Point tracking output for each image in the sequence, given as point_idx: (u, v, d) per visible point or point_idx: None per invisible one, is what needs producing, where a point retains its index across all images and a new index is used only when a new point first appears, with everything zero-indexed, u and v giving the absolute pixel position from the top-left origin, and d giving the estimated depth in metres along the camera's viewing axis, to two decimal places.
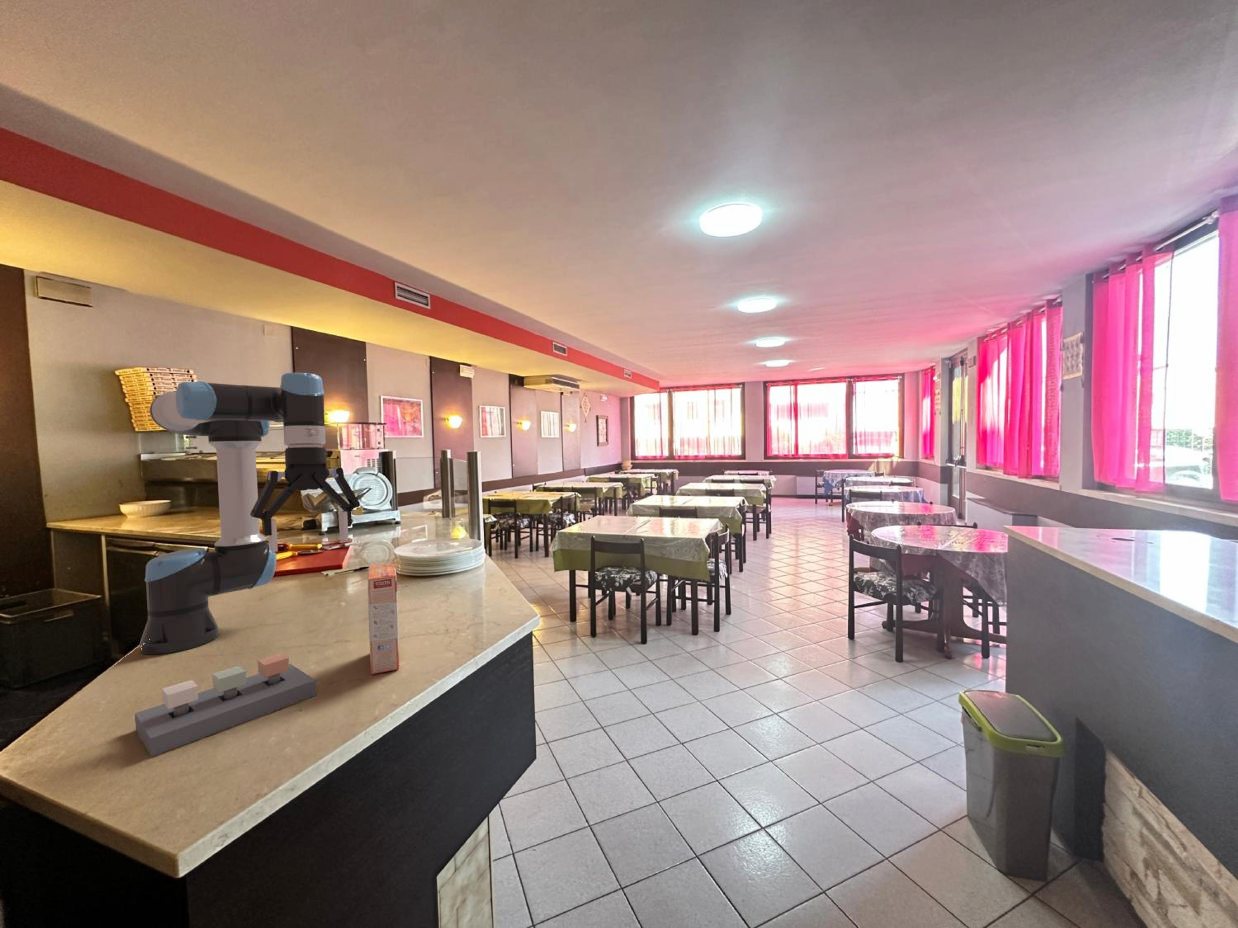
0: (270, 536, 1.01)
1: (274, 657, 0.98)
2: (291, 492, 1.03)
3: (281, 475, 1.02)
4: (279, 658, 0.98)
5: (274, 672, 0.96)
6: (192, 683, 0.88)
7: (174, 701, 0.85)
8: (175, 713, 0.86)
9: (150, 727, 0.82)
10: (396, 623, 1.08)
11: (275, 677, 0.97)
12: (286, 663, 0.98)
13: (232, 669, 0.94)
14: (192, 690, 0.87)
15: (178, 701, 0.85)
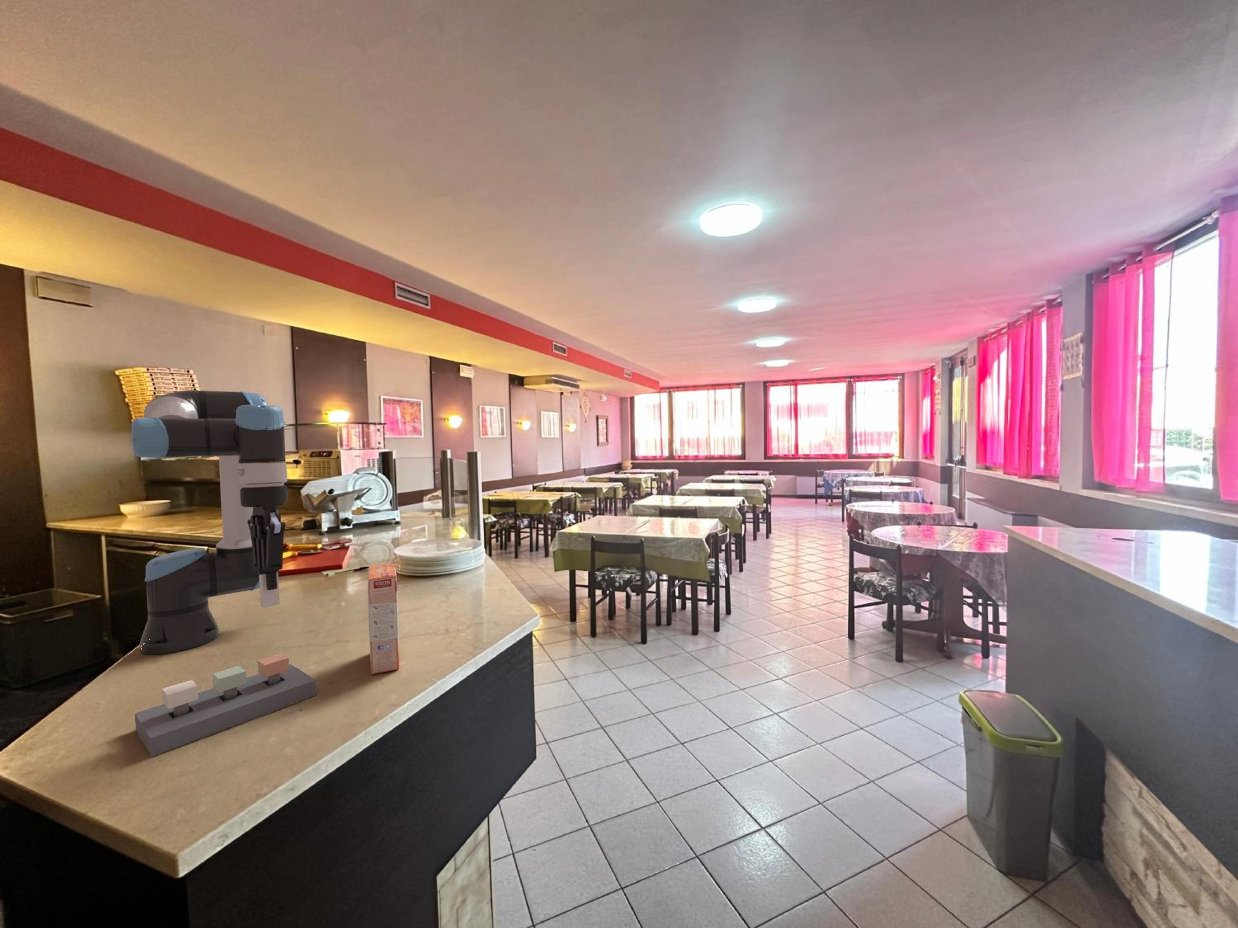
0: None
1: (274, 657, 0.98)
2: (256, 537, 0.97)
3: None
4: (279, 658, 0.98)
5: (274, 672, 0.96)
6: (192, 683, 0.88)
7: (174, 701, 0.85)
8: (175, 713, 0.86)
9: (150, 727, 0.82)
10: (396, 623, 1.08)
11: (275, 677, 0.97)
12: (286, 663, 0.98)
13: (232, 669, 0.94)
14: (192, 690, 0.87)
15: (178, 701, 0.85)
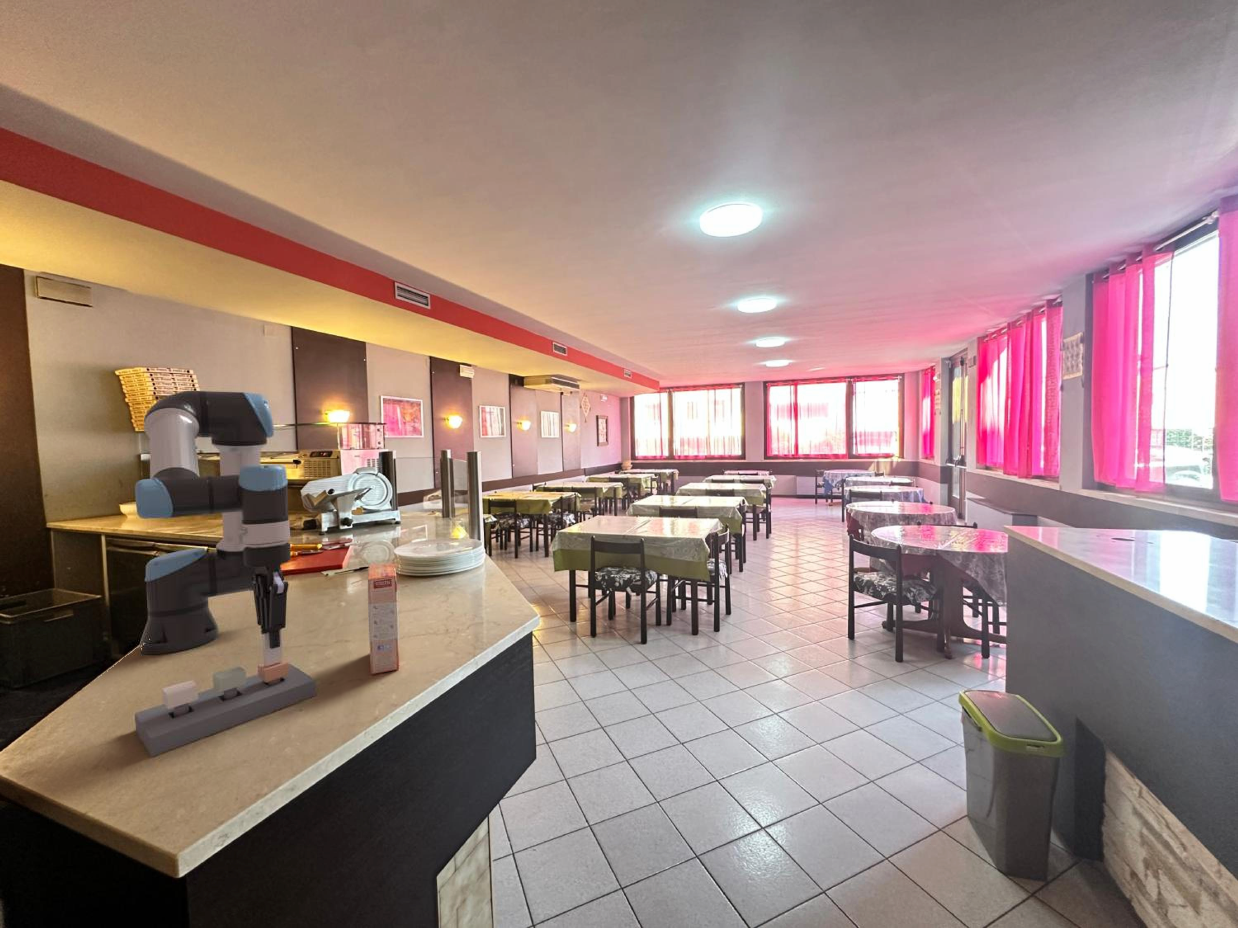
0: None
1: None
2: (259, 596, 0.97)
3: None
4: (280, 663, 0.98)
5: (274, 677, 0.96)
6: (192, 683, 0.88)
7: (174, 701, 0.85)
8: (175, 713, 0.86)
9: (150, 727, 0.82)
10: (396, 623, 1.08)
11: (275, 682, 0.97)
12: (286, 668, 0.98)
13: (232, 669, 0.94)
14: (192, 690, 0.87)
15: (178, 701, 0.85)
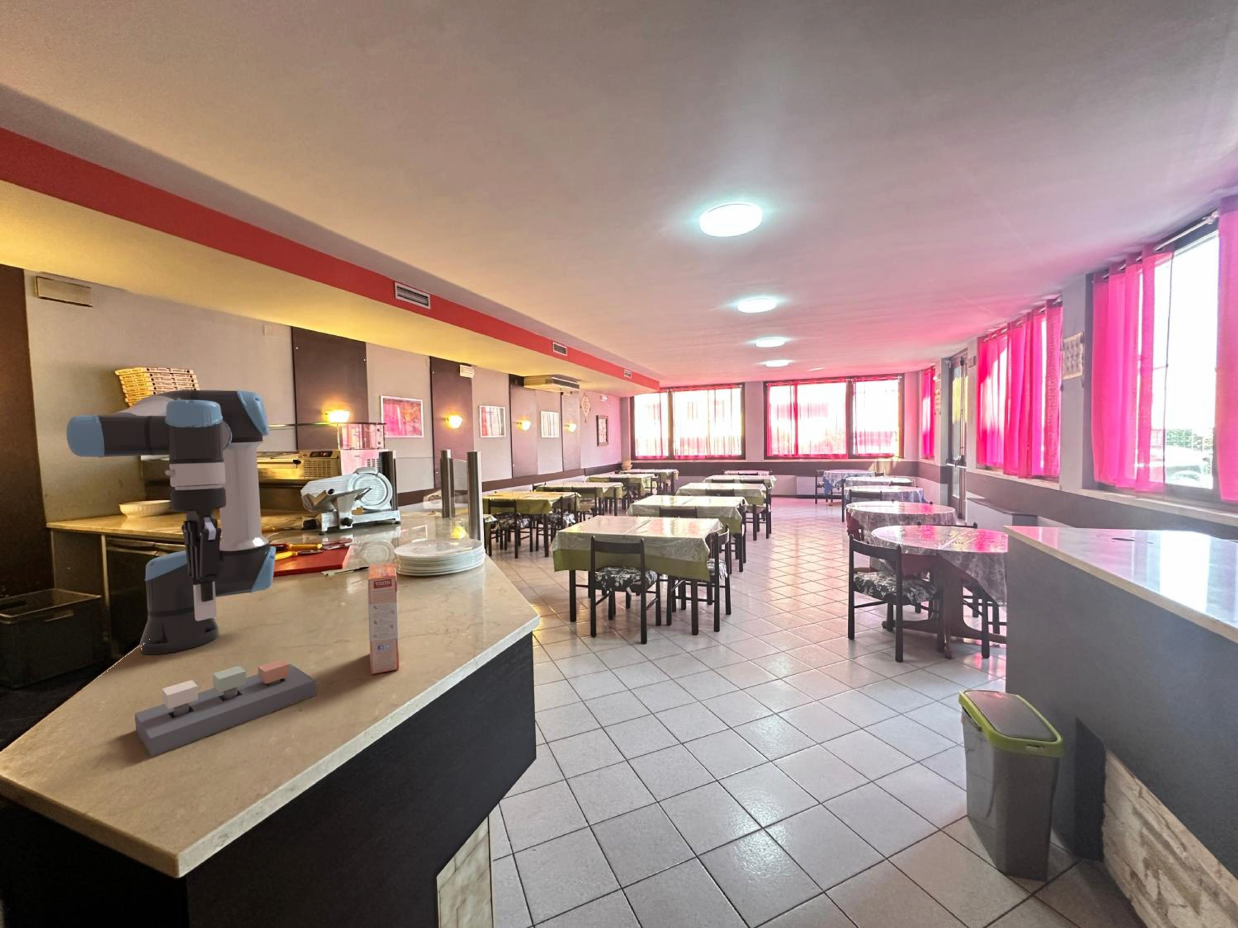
0: None
1: (274, 663, 0.98)
2: (190, 544, 0.89)
3: None
4: (280, 664, 0.98)
5: (275, 678, 0.96)
6: (192, 683, 0.88)
7: (174, 701, 0.85)
8: (175, 713, 0.86)
9: (150, 727, 0.82)
10: (396, 623, 1.08)
11: (275, 683, 0.97)
12: (286, 669, 0.98)
13: (232, 669, 0.94)
14: (192, 690, 0.87)
15: (178, 701, 0.85)
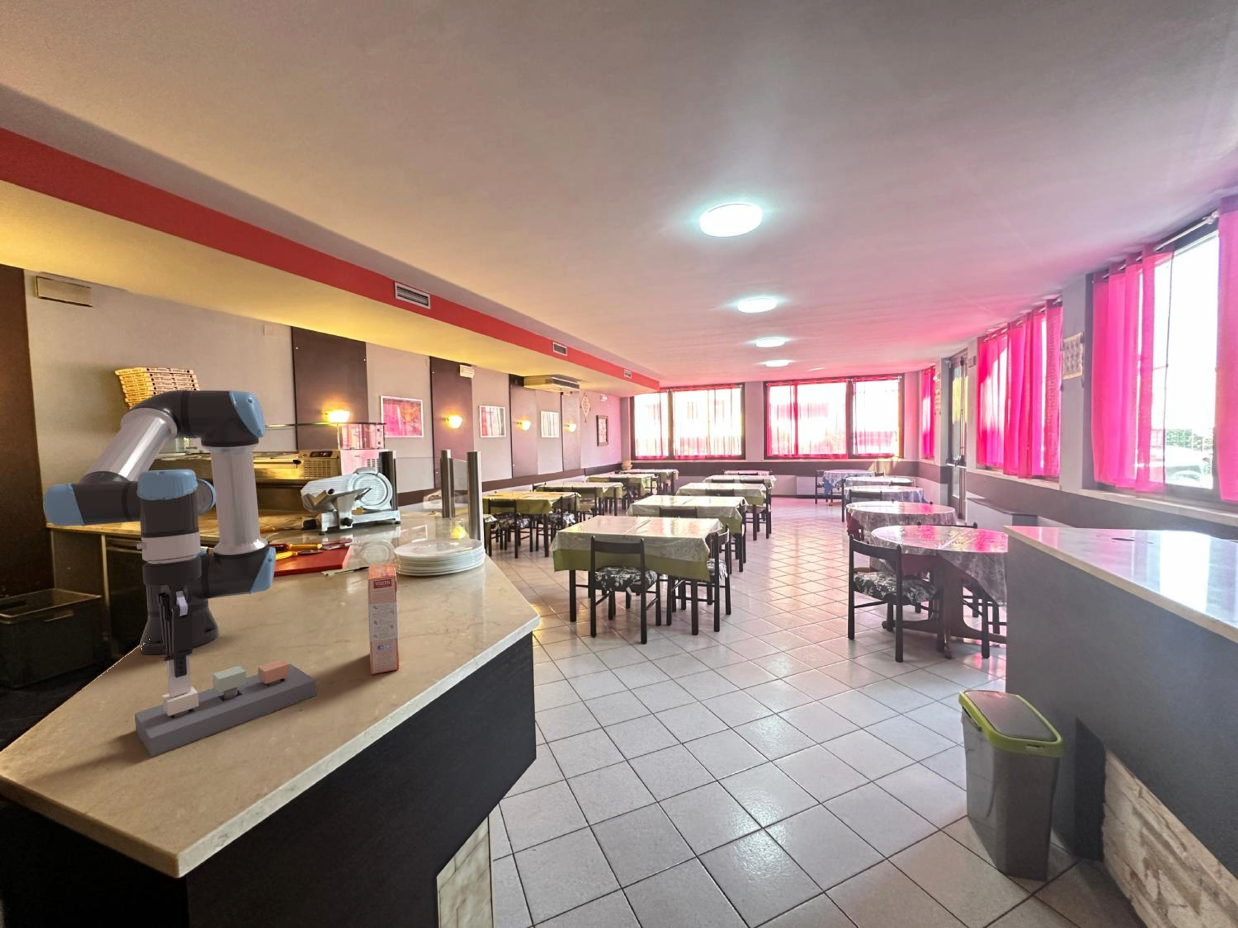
0: None
1: (274, 663, 0.98)
2: (163, 618, 0.86)
3: None
4: (280, 664, 0.98)
5: (275, 678, 0.96)
6: (192, 690, 0.88)
7: (174, 708, 0.85)
8: None
9: (150, 727, 0.82)
10: (396, 623, 1.08)
11: (275, 683, 0.97)
12: (286, 669, 0.98)
13: (232, 669, 0.94)
14: (192, 697, 0.87)
15: (178, 708, 0.85)
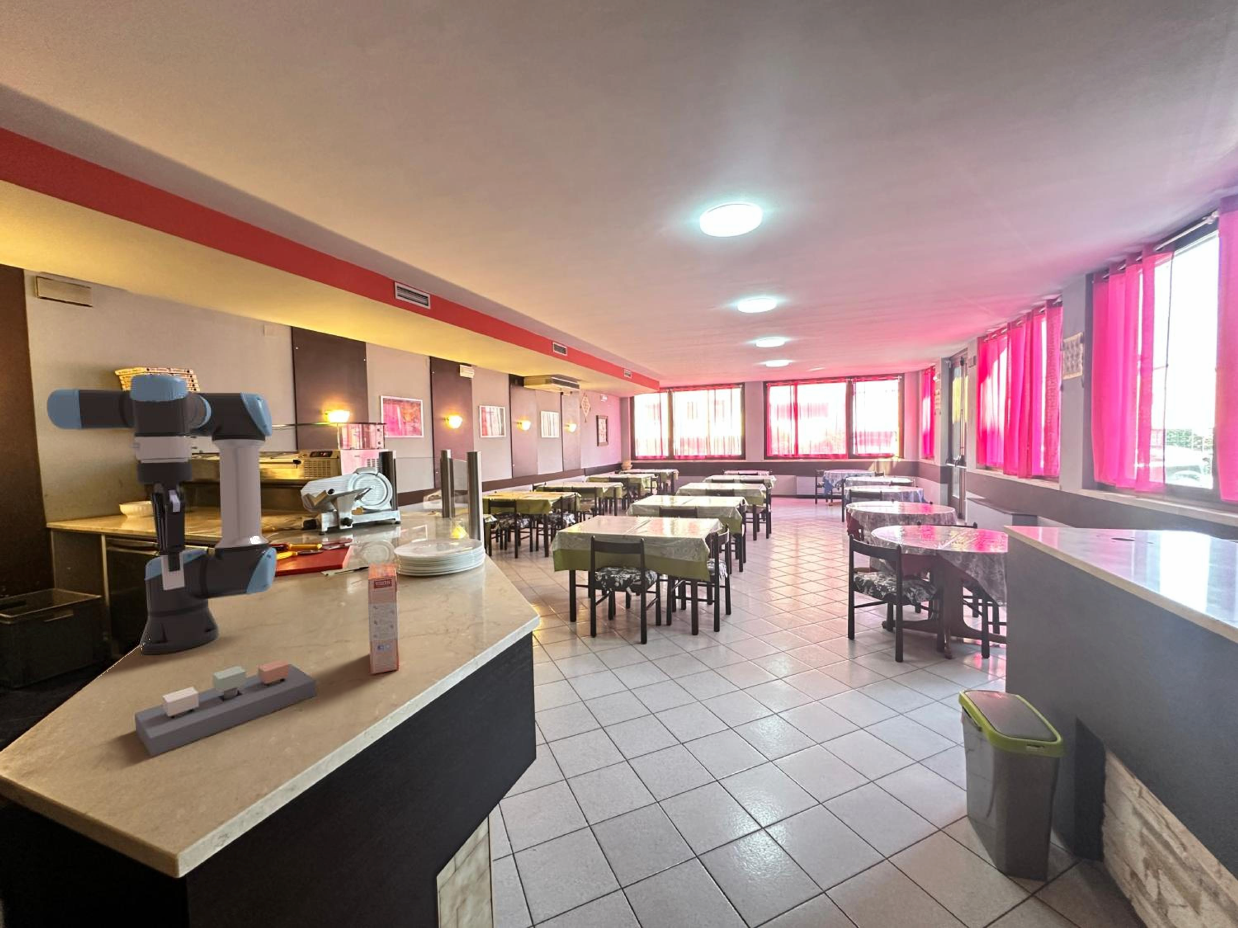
0: None
1: (274, 663, 0.98)
2: (157, 516, 0.91)
3: None
4: (280, 664, 0.98)
5: (275, 678, 0.96)
6: (192, 690, 0.88)
7: (174, 708, 0.85)
8: None
9: (150, 727, 0.82)
10: (396, 623, 1.08)
11: (275, 683, 0.97)
12: (286, 669, 0.98)
13: (232, 669, 0.94)
14: (192, 697, 0.87)
15: (178, 708, 0.85)
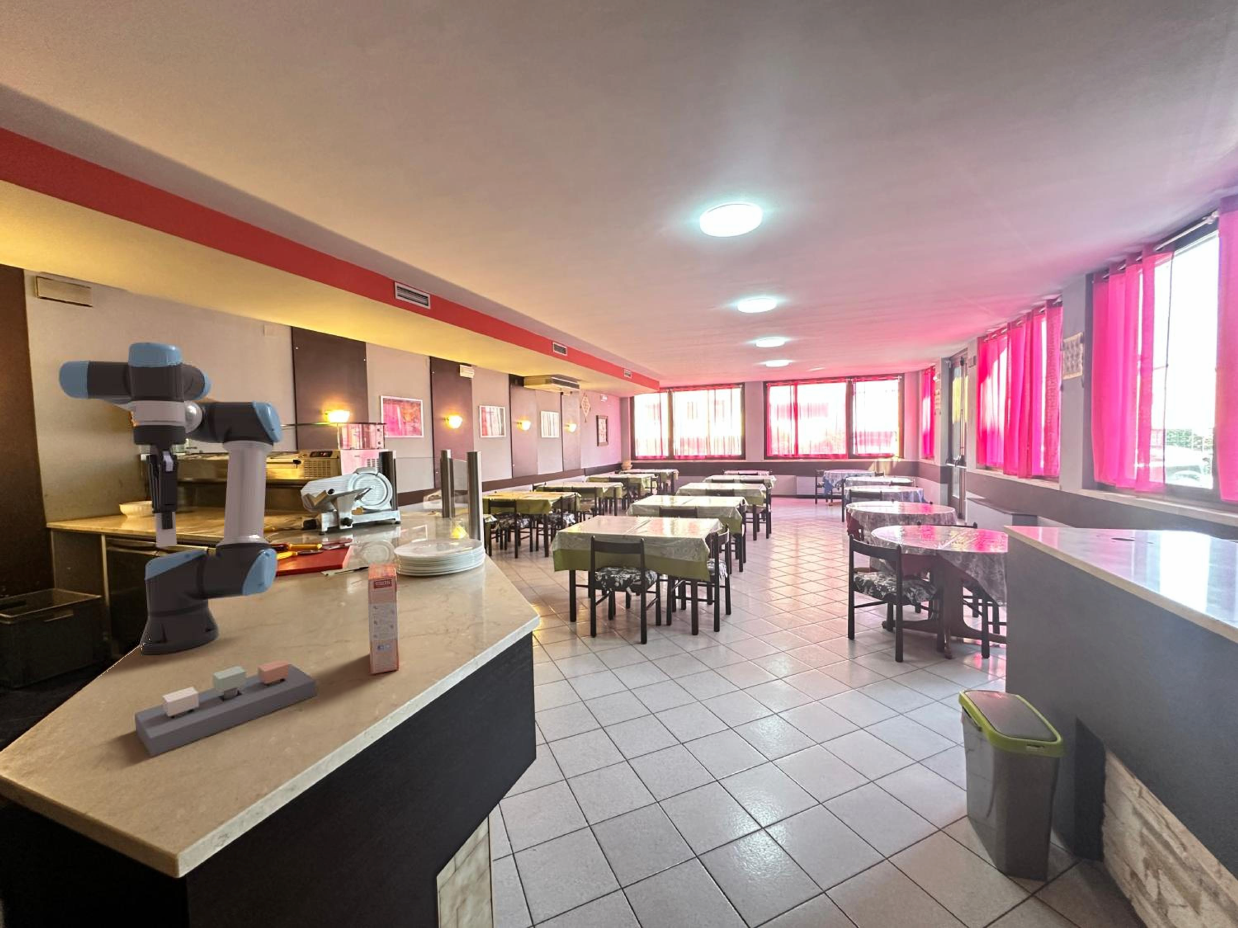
0: None
1: (274, 663, 0.98)
2: (152, 477, 0.96)
3: None
4: (280, 664, 0.98)
5: (275, 678, 0.96)
6: (192, 690, 0.88)
7: (174, 708, 0.85)
8: None
9: (150, 727, 0.82)
10: (396, 623, 1.08)
11: (275, 683, 0.97)
12: (286, 669, 0.98)
13: (232, 669, 0.94)
14: (192, 697, 0.87)
15: (178, 708, 0.85)
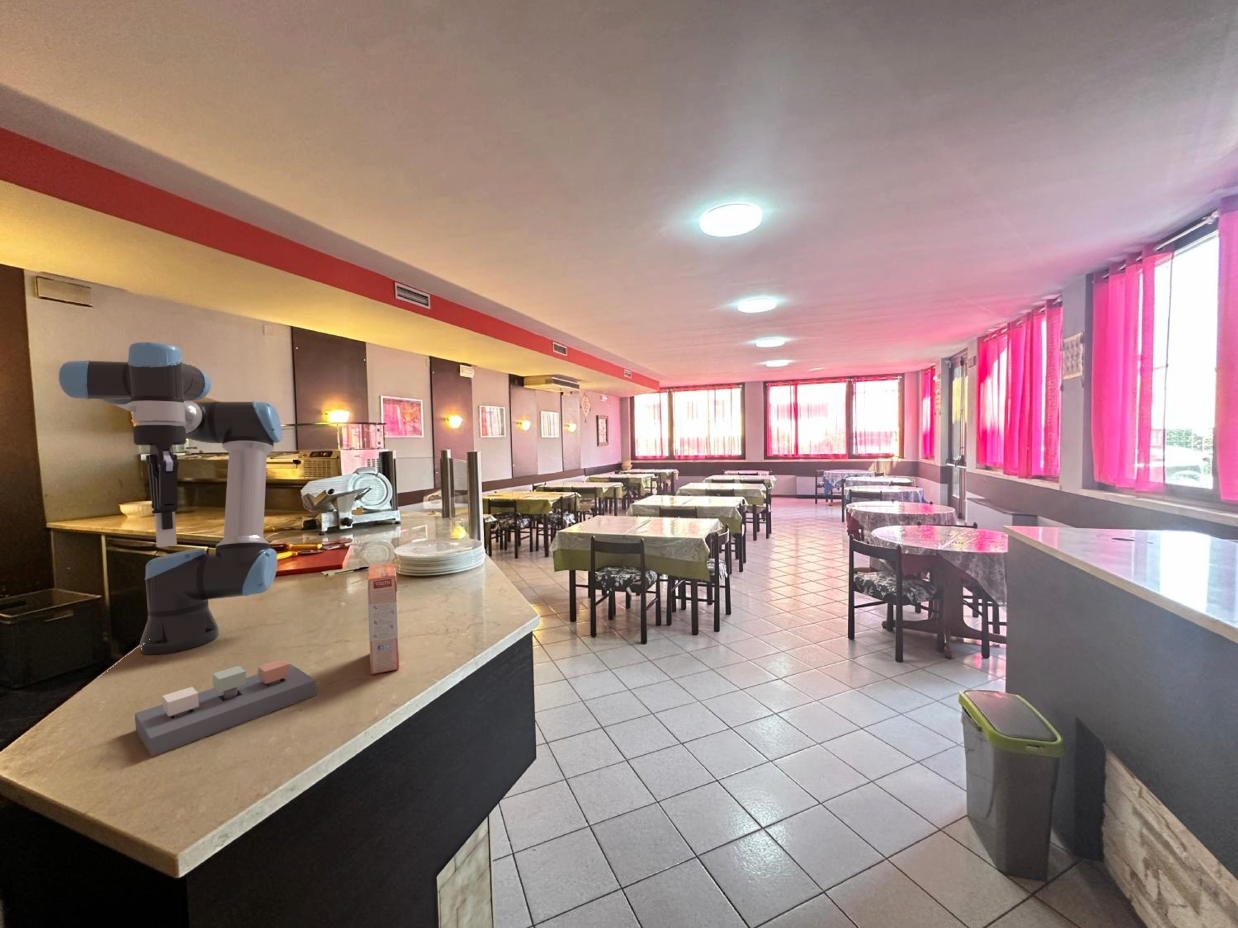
0: None
1: (274, 663, 0.98)
2: (152, 477, 0.96)
3: None
4: (280, 664, 0.98)
5: (275, 678, 0.96)
6: (192, 690, 0.88)
7: (174, 708, 0.85)
8: None
9: (150, 727, 0.82)
10: (396, 623, 1.08)
11: (275, 683, 0.97)
12: (286, 669, 0.98)
13: (232, 669, 0.94)
14: (192, 697, 0.87)
15: (178, 708, 0.85)
